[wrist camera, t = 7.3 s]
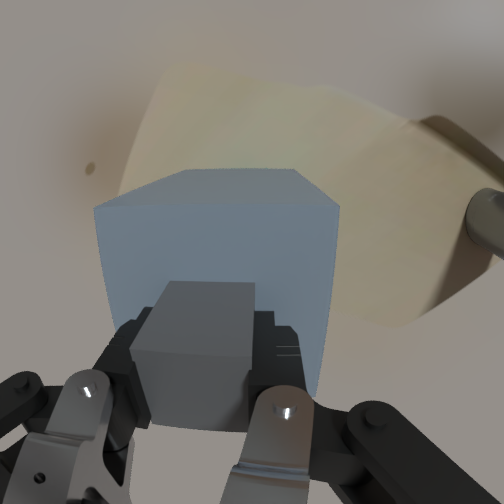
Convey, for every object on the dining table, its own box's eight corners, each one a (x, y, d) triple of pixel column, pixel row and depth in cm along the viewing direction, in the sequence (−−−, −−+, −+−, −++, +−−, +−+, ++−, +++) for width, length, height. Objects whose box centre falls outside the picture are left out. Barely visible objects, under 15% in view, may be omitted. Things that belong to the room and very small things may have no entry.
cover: (293, 169, 23) (386, 245, 6) (290, 270, 26) (327, 470, 9) (185, 169, 23) (21, 243, 6) (191, 269, 26) (103, 452, 9)
